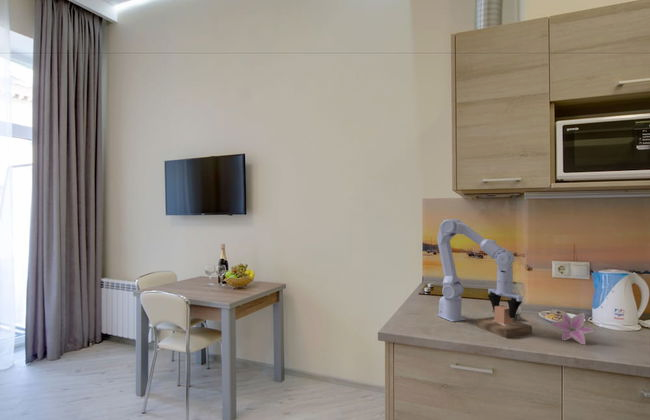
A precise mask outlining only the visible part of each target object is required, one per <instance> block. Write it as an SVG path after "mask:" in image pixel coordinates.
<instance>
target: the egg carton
mask: <svg viewBox="0 0 650 420" xmlns="http://www.w3.org/2000/svg"><path fill="white" fill-rule="evenodd" d="M521 315H522V314H521V313H519V312H518V311H517V312H516V315H515V318H512V319H513V320H516V321H520V317H521ZM492 317H494V311H493V310H492Z"/></svg>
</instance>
